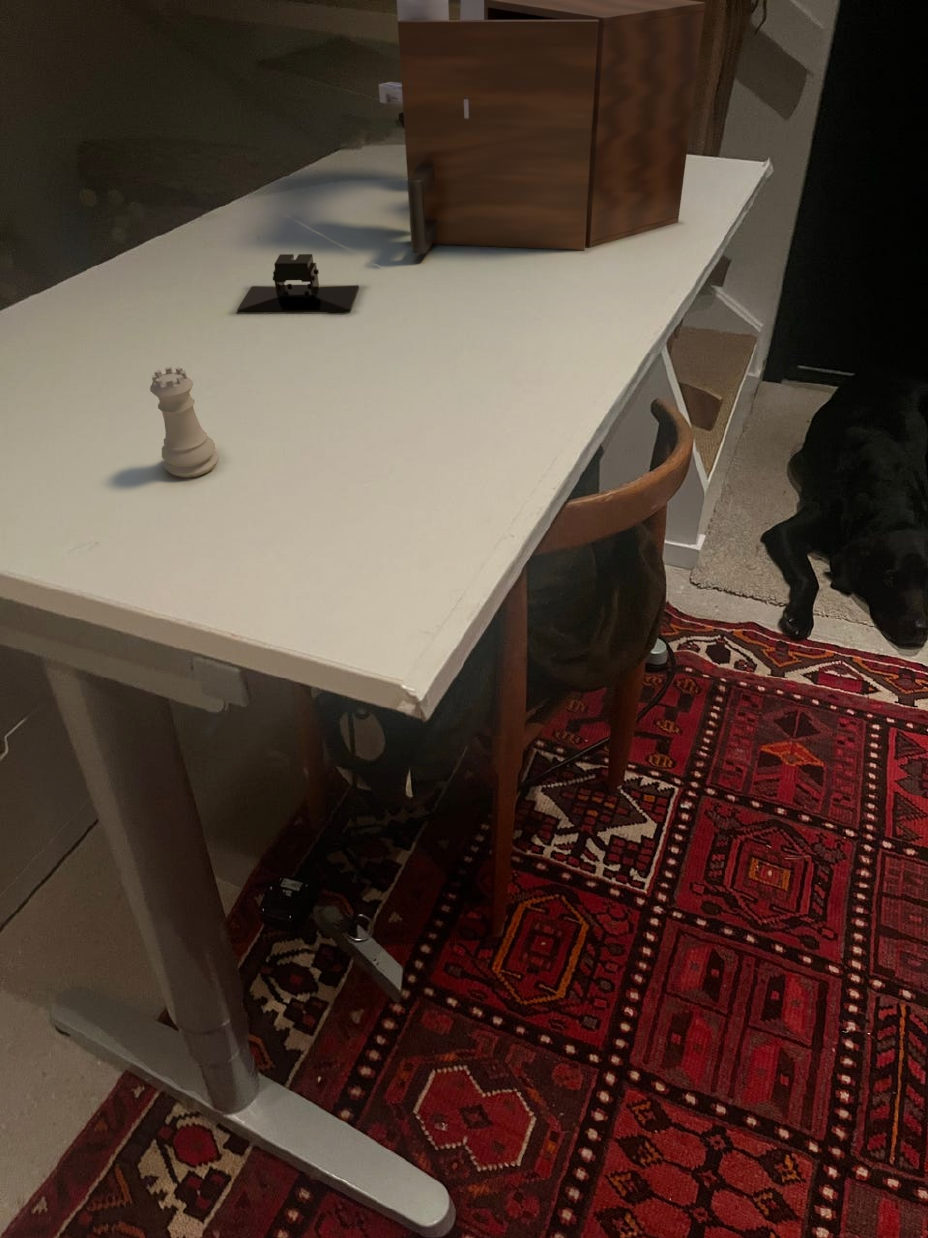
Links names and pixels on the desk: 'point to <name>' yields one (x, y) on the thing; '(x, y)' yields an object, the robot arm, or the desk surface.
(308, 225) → the desk surface
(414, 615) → the desk surface
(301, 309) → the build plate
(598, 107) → the cupboard
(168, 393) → the rook chess piece
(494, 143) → the cupboard door
